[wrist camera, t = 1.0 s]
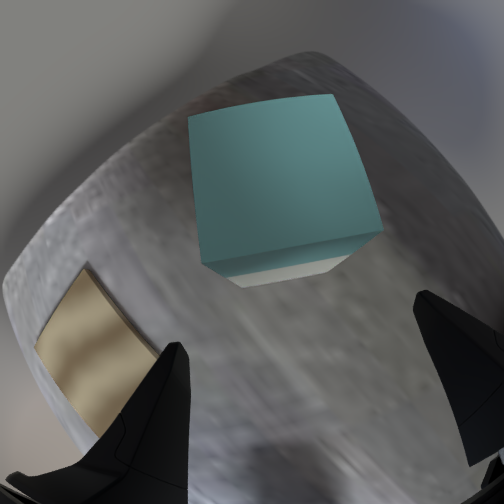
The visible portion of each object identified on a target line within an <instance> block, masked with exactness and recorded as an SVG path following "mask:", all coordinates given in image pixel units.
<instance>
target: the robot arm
mask: <svg viewBox="0 0 504 504" xmlns="http://www.w3.org/2000/svg"><path fill="white" fill-rule="evenodd" d="M413 313H414V315H415V318H416V321H417V323H418V326H419V329H420V332H421V334H422V337H423V340H424V343H425V345H426V348H427V350H428V352H429V354H430V356H431V359H432V361H433V363H434V366H435V368H436V370H437V373H438V375H439V377H440V380H441V382H442V385H443V387H444V390H445V392H446V395H447V397H448V400H449V403H450V406H451V408H452V411H453V414H454V417H455V420H456V423H457V426H458V429H459V433H460V436H461V439H462V442H463V446H464V449H465V453H466V457H467V461H468V464H469V467H471V466H473V465H475V464H477V463H479V462H480V461H482V460H484V459H486V458H487V457H489V456H491V455H492V454H494V453H496V452H497V451H498V453H499V455H498V456H497V457H496V458H494V459H493V460H492V461H490V464H489V466H488V469H487V472H486V474H485V477H484V479H483V482H482V484H481V489H482V490H481V491H479V492H478V493H476V494H475V495H473V496H472V497H470V498H469V499H467V500H466V501H464V502H463V503H461V504H504V335H503V334H501V333H499V332H498V331H496V330H493V328H491V327H490V326H488V325H486V324H485V323H483V322H481V321H480V320H478V319H477V318H475V317H473V316H472V315H470V314H468V313H467V312H465V311H463V310H461V309H460V308H458V307H456V306H455V305H453V304H451V303H449V302H448V301H446V300H444V299H442V298H441V297H439V296H437V295H435V294H434V293H432V292H430V291H428V290H423V291H420V292H418V293H417V294H416V298H415V302H414V305H413ZM190 404H191V387H190V367H189V356H188V354H187V352H186V351H185V349H184V347H183V346H182V344H181V343H180V342H171V343H169V344H168V345H167V346H166V348H165V349H164V351H163V352H162V353H161V355H160V356H159V357H158V359H157V360H156V362H155V363H154V364H153V366H152V367H151V369H150V370H149V371H148V373H147V374H146V376H145V377H144V378H143V380H142V381H141V383H140V384H139V386H138V387H137V388H136V390H135V391H134V393H133V394H132V395H131V397H130V398H129V400H128V401H127V403H126V404H125V405H124V407H123V408H122V410H121V411H120V412H121V413H119V414H118V415H117V417H116V418H115V420H114V421H113V422H112V424H111V425H110V426H109V428H108V429H107V430H106V431H105V433H104V434H103V435H102V436H101V437H100V439H99V440H98V441H97V442H96V443H95V444H94V446H93V447H92V448H91V449H90V450H89V451H88V452H87V454H86V455H85V456H84V457H83V458H82V459H81V460H80V461H78V462H77V463H75V464H73V465H71V466H68V467H65V468H62V469H59V470H56V471H52V472H49V473H45V474H42V475H38V476H27V475H25V474H23V473H21V472H18V471H17V472H14V473H12V474H10V475H9V476H8V477H7V478H6V479H5V480H6V481H7V482H8V483H9V484H11V485H12V486H13V487H15V488H17V489H18V490H19V491H21V492H22V493H24V494H26V495H27V496H29V497H30V498H29V497H27V496H25V495H23V494H20V493H18V492H16V491H14V490H12V489H10V488H8V487H6V486H4V485H2V484H0V504H188V490H187V489H188V447H189V422H190Z"/></svg>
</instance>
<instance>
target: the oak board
mask: <svg viewBox="0 0 504 504" xmlns="http://www.w3.org/2000/svg"><path fill="white" fill-rule="evenodd" d="M34 348H35V350H36V352H37V354H38V355H39V357H40V359H41V361H42V362H43V364H44V366H45V367H46V369H47V370H48V372H49V373H50V375H51V377H52V378H53V380H54V381H55V383H56V384H57V386H58V387H59V388H60V390H61V391H62V393H63V394H64V395H65V397H66V398H67V400H68V401H69V402H70V404H71V405H72V406H73V408H74V409H75V410H76V411H77V413H78V414H79V415H80V416H81V418H82V419H83V420H84V421H85V422H86V424H87V425H88V426H89V427H90V428H91V429H92V431H93V432H94V433H95V434H96V435H97V436H98V437H99V438H100V437H101V436H102V435H103V434H104V433H105V431H106V430H107V429H108V428H109V426H110V425H111V424H112V422H113V421H114V420H115V418H116V417H117V415H118V414H119V413H121V412H120V411H121V410H122V408H123V407H124V405H125V404H126V403H127V401H128V400H129V398H130V397H131V395H132V394H133V393H134V391H135V390H136V388H137V387H138V386H139V384H140V383H141V381H142V380H143V378H144V377H145V376H146V374H147V373H148V371H149V370H150V369H151V367H152V366H153V364H154V363H155V362H156V360H157V359H158V357H159V355H158V354H157V353H156V352H155V351H154V349H153V348H152V347H151V346H150V345H149V344H148V343H147V342H146V341H145V340H144V338H143V337H142V336H141V335H140V334H139V333H138V332H137V330H136V329H135V328H134V327H133V326H132V325H131V323H130V322H129V321H128V320H127V319H126V317H125V316H124V315H123V314H122V312H121V311H120V310H119V309H118V307H117V306H116V305H115V304H114V302H113V301H112V300H111V299H110V297H109V296H108V295H107V293H106V292H105V291H104V289H103V288H102V287H101V285H100V284H99V283H98V281H97V280H96V278H95V277H94V276H93V274H92V273H91V271H90V270H88V269H83V270H82V272H81V273H80V274H79V276H78V277H77V279H76V280H75V282H74V283H73V284H72V286H71V287H70V289H69V290H68V292H67V293H66V295H65V296H64V298H63V299H62V301H61V302H60V304H59V306H58V307H57V309H56V310H55V312H54V314H53V315H52V317H51V318H50V320H49V322H48V323H47V325H46V327H45V328H44V330H43V332H42V334H41V335H40V337H39V339H38V341H37V343H36V344H35V346H34Z"/></svg>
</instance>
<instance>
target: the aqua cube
mask: <svg viewBox="0 0 504 504" xmlns="http://www.w3.org/2000/svg"><path fill="white" fill-rule="evenodd" d="M188 129H189V144H190V158H191V170H192V181H193V192H194V202H195V212H196V221H197V230H198V238H199V246H200V254H201V262H202V264H203V265H205V266H207V267H208V268H210V269H212V270H213V271H215V272H217V273H218V274H220V275H222V276H223V277H225V278H228V277H233V276H239V275H245V274H250V273H256V272H261V271H267V270H272V269H278V268H283V267H288V266H294V265H299V264H304V263H309V262H315V261H320V260H325V259H330V258H335V257H340V256H345V255H350V254H352V253H354V252H355V251H356V250H358V249H359V248H361V247H362V246H363V245H364V244H366V243H367V242H368V241H370V240H371V239H372V238H374V237H375V236H376V235H378V234H379V233H380V232H382V231H383V230H384V229H383V225H382V222H381V218H380V215H379V212H378V208H377V205H376V202H375V199H374V196H373V193H372V189H371V186H370V184H369V181H368V178H367V175H366V172H365V169H364V167H363V164H362V161H361V159H360V156H359V153H358V151H357V148H356V146H355V143H354V141H353V138H352V136H351V133H350V131H349V129H348V126H347V124H346V122H345V120H344V117H343V115H342V113H341V111H340V109H339V106H338V104H337V102H336V100H335V98H334V96H333V94H325V95H311V96H300V97H291V98H283V99H275V100H268V101H261V102H255V103H249V104H243V105H238V106H233V107H228V108H223V109H219V110H214V111H210V112H205V113H201V114H197V115H193V116H189V117H188Z"/></svg>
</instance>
